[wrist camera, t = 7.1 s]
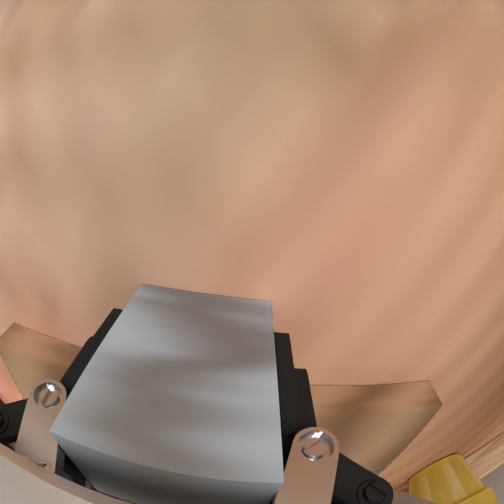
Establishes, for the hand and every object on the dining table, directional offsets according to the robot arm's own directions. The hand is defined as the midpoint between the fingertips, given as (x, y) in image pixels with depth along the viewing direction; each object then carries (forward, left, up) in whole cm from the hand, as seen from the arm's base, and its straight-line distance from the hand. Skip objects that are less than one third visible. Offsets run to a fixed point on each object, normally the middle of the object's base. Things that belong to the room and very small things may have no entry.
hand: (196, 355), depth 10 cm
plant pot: (-25, +19, -2) cm, 31 cm away
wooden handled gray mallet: (0, +4, -1) cm, 5 cm away
